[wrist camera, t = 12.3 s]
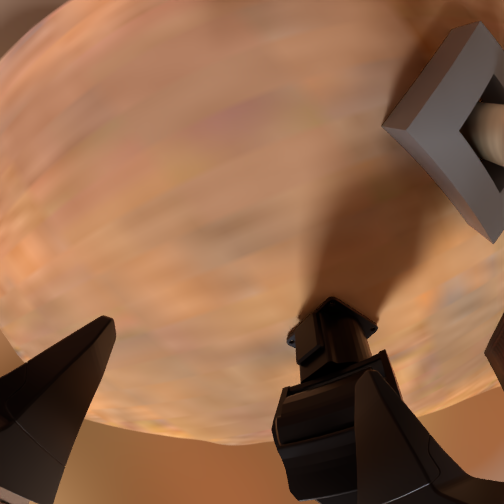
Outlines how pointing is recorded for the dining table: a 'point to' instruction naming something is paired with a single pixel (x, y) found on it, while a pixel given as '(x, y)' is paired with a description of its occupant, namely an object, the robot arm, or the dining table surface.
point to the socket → (456, 124)
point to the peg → (486, 131)
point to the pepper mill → (497, 351)
